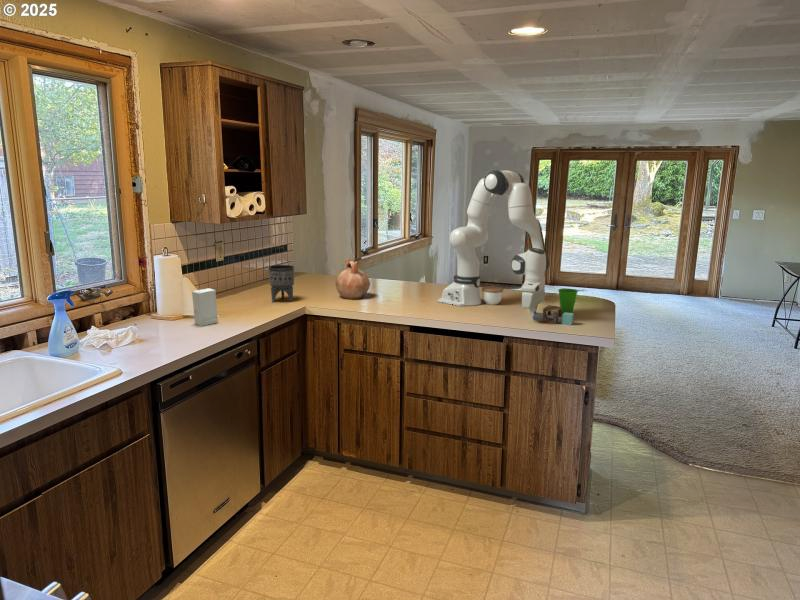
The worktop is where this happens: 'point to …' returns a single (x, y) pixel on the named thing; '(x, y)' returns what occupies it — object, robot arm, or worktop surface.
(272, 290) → the planter
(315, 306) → the worktop surface
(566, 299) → the cup
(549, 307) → the cover
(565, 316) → the block
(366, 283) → the jug
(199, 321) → the skincare box
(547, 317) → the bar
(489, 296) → the lidded jar
